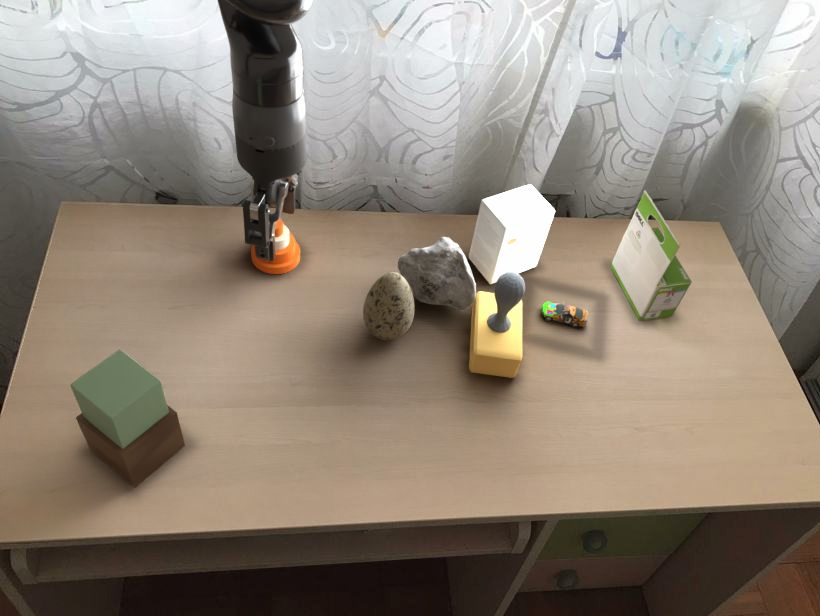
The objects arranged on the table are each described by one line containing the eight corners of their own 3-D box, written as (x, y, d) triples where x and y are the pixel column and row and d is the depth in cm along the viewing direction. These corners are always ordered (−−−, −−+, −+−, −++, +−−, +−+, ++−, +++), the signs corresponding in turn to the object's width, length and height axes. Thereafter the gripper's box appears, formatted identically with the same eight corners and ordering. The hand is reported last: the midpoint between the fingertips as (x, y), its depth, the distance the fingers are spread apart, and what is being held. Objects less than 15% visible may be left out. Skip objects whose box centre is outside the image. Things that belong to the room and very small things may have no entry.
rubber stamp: (471, 309, 95) (489, 241, 86) (516, 315, 96) (538, 249, 86) (468, 371, 89) (487, 306, 80) (516, 378, 89) (540, 314, 80)
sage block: (122, 449, 69) (111, 418, 65) (83, 416, 70) (69, 384, 66) (169, 412, 72) (160, 380, 68) (130, 381, 73) (120, 348, 69)
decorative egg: (377, 305, 93) (384, 248, 85) (419, 327, 92) (429, 271, 84) (351, 336, 89) (356, 280, 82) (394, 359, 88) (403, 304, 80)
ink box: (672, 318, 100) (717, 243, 89) (638, 323, 98) (679, 247, 87) (641, 262, 106) (679, 185, 95) (607, 266, 104) (642, 188, 93)
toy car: (541, 304, 97) (544, 295, 96) (586, 315, 98) (590, 306, 96) (539, 319, 96) (542, 310, 94) (584, 330, 96) (588, 321, 94)
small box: (514, 241, 104) (531, 182, 96) (537, 267, 102) (557, 209, 93) (466, 257, 101) (480, 198, 92) (489, 285, 98) (505, 227, 90)
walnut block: (134, 488, 74) (122, 456, 69) (90, 451, 75) (75, 417, 70) (185, 445, 77) (177, 412, 72) (142, 410, 79) (131, 375, 74)
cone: (276, 281, 93) (275, 248, 88) (241, 257, 94) (238, 223, 90) (309, 256, 96) (310, 223, 92) (275, 233, 98) (273, 199, 93)
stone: (398, 321, 92) (406, 265, 84) (392, 280, 96) (399, 223, 88) (471, 319, 94) (486, 264, 86) (462, 279, 98) (476, 223, 90)
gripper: (256, 80, 84) (264, 190, 97) (212, 157, 75) (226, 268, 88) (322, 94, 84) (321, 203, 97) (285, 173, 75) (289, 281, 88)
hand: (276, 234), depth 92 cm, fingers open, 8 cm apart
